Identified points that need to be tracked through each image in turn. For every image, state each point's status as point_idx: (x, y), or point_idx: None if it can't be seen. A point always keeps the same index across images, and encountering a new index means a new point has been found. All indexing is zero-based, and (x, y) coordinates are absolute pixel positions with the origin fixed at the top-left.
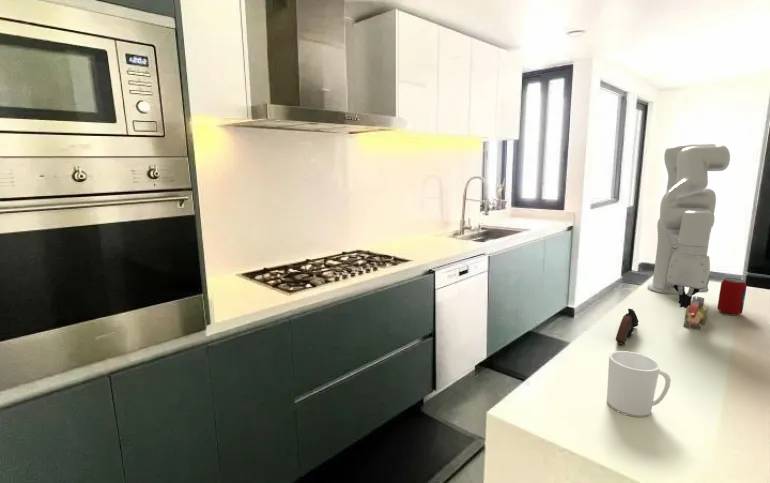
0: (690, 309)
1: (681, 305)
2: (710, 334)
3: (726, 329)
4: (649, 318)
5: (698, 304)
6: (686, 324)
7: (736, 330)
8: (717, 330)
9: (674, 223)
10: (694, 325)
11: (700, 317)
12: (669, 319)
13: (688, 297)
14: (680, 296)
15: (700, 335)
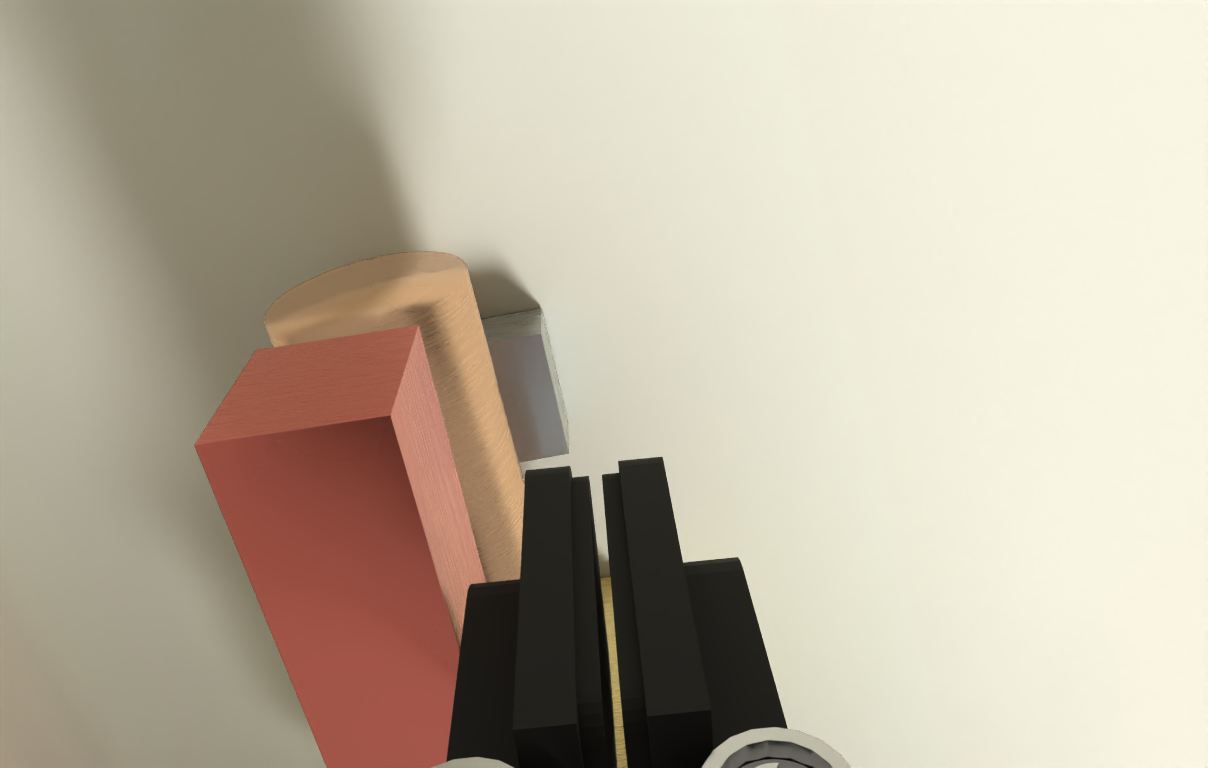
0: (367, 373)
1: (631, 478)
2: (124, 279)
3: (137, 674)
4: (1070, 270)
5: (322, 737)
6: (501, 334)
7: (54, 729)
8: (173, 547)
9: None
10: (339, 277)
11: None
12: (803, 482)
13: (507, 751)
14: (741, 710)
15: (177, 71)
